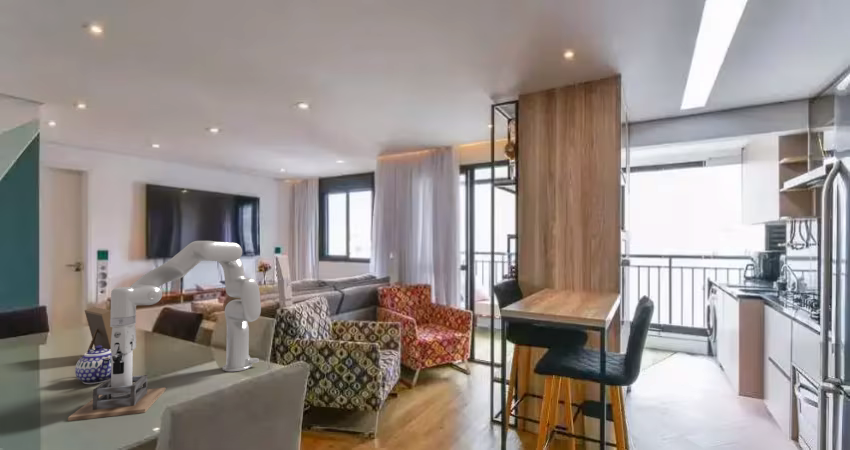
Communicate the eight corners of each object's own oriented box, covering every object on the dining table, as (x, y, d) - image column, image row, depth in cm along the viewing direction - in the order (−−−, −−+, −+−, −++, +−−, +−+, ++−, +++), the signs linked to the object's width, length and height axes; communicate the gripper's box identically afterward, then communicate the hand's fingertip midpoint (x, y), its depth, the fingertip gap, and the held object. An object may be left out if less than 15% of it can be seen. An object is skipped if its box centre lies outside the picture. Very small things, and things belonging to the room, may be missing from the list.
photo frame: (106, 352, 220) (107, 305, 221) (124, 358, 208) (125, 309, 209) (71, 359, 207) (72, 309, 208) (88, 365, 195) (89, 313, 196)
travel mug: (121, 400, 145) (122, 344, 145) (106, 399, 146) (107, 343, 147) (137, 394, 151) (137, 339, 152) (122, 393, 152) (123, 339, 153)
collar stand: (165, 390, 162) (165, 370, 162) (144, 412, 141) (145, 389, 141) (99, 396, 156) (100, 375, 156) (68, 421, 135) (68, 396, 135)
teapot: (68, 379, 177) (69, 344, 177) (110, 370, 188) (111, 338, 189) (82, 391, 161) (83, 353, 162) (128, 381, 173) (128, 346, 173)
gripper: (125, 325, 142) (124, 377, 142) (143, 316, 159) (143, 362, 158) (99, 326, 140) (99, 379, 140) (121, 317, 157) (120, 364, 156)
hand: (122, 370), depth 149 cm, fingers closed on travel mug, 6 cm apart
